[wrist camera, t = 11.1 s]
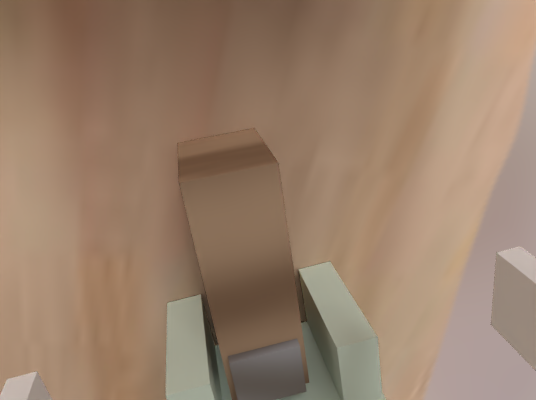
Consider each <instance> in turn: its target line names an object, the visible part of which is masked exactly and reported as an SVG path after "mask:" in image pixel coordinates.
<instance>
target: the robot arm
mask: <svg viewBox="0 0 536 400" xmlns="http://www.w3.org/2000/svg"><path fill="white" fill-rule="evenodd" d="M491 325H492V326H493V327H494V328H495V329H496V330H497V331H498V332H499V334H500V335H502V336H503V338H504V339H505V340H506V341H507V342H508V343H509V344H510V345H511V346H512V347H513V348H514V349H515V350H516V351H517V352H518V353H519V354H520V355H521V356H522V357H523V358H524V359H525V360H526V361H527V362H528V363H529V364H530V365H531V366H532V367H533V369H534V370H535V371H536V257H534V256H533V255H532V254H530V253H529V252H527V251H526V250H525V249H523V248H522V247H516V248H512V249H508V250H504V251H500V252H496V263H495V277H494V289H493V302H492V316H491ZM0 400H52V398H51V396H50V394H49V392H48V391H47V389H46V387H45V385H44V383H43V381H42V379H41V377H40V376H39V374H38V372H37V371H36V372H32V373H29V374H25V375H21V376H17V377H13V378H9V379H7V380H6V383H5V385H4V387H3V390H2V392H1V394H0Z"/></svg>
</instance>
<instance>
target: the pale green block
mask: <svg viewBox="0 0 536 400" xmlns="http://www.w3.org/2000/svg"><path fill="white" fill-rule="evenodd" d="M298 270H299V276H300V282H301V288H302V294H303V300H304V306H305V313H306V319H307V321H306V322H302V323H301V326H302V333H303V340H304V347H305V354H306V361H307V368H308V375H309V383H306V391H307V392H303V393H299V394H295V395H292V396H288V397H284V398H281V399H277V400H386V398H385V396H384V394H383V392H382V385H381V372H380V360H379V348H378V337H377V335H376V334H375V332H374V330H373V329H372V327H371V326H370V324H369V322H368V321H367V319H366V318H365V316H364V314H363V313H362V311H361V310H360V308H359V307H358V305H357V303H356V302H355V300H354V299H353V297H352V295H351V294H350V292H349V291H348V289H347V288H346V286H345V284H344V283H343V281H342V280H341V278H340V276H339V275H338V273H337V272H336V270H335V269H334V267H333V265H332V264H331V262H330V261H329V262H325V263H321V264H317V265H313V266H310V267H306V268H302V269H298ZM166 399H167V400H232V398H231V394H230V390H229V386H228V382H227V377H226V373H225V369H224V365H223V361H222V357H221V353H220V349H219V345H217V346H215V343H214V340H213V336H212V333H211V329H210V325H209V322H208V318H207V315H206V311H205V307H204V304H203V300H202V297H201V294H200V295H196V296H192V297H188V298H184V299H180V300H176V301H172V302H168V303H167V341H166Z"/></svg>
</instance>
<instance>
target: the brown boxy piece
mask: <svg viewBox="0 0 536 400" xmlns="http://www.w3.org/2000/svg"><path fill="white" fill-rule="evenodd" d="M178 170H179V185H180V189H181V194H182V198H183V202H184V206H185V210H186V214H187V218H188V222H189V226H190V230H191V234H192V238H193V243H194V247H195V251H196V255H197V259H198V263H199V267H200V271H201V275H202V279H203V283H204V288H205V292H206V296H207V300H208V304H209V308H210V312H211V316H212V320H213V324H214V328H215V332H216V337H217V341H218V345H219V349H220V353H221V357H222V361H223V365H224V369H225V373H226V377H227V382H228V386H229V390H230V394H231V398H232V400H277V399H281V398H284V397H288V396H292V395H295V394H299V393H303V392H307V391H306V383H309V375H308V368H307V361H306V354H305V347H304V340H303V333H302V326H301V319H300V312H299V305H298V298H297V291H296V283H295V276H294V269H293V262H292V255H291V248H290V241H289V234H288V227H287V220H286V213H285V206H284V199H283V192H282V185H281V178H280V171H279V164H278V162H277V160H276V159H275V157H274V156H273V154H272V153H271V151H270V150H269V149H268V147H267V146H266V144H265V143H264V141H263V140H262V139H261V137H260V136H259V134H258V133H257V131H256V130H255V128H252V129H247V130H242V131H237V132H231V133H226V134H221V135H216V136H211V137H206V138H200V139H195V140H190V141H185V142H180V143H178Z"/></svg>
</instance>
